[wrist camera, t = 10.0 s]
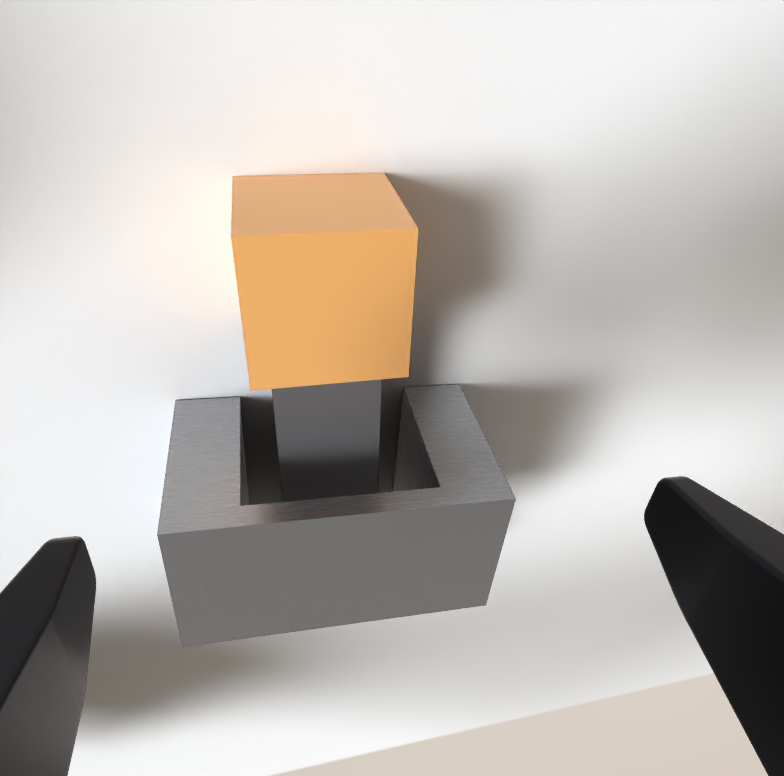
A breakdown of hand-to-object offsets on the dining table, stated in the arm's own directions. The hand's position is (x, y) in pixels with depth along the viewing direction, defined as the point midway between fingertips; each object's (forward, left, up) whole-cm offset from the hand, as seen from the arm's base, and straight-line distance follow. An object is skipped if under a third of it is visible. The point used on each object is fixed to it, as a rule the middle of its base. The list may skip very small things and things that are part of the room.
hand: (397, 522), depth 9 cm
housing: (-4, -8, -10) cm, 14 cm away
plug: (-2, -4, -10) cm, 11 cm away
